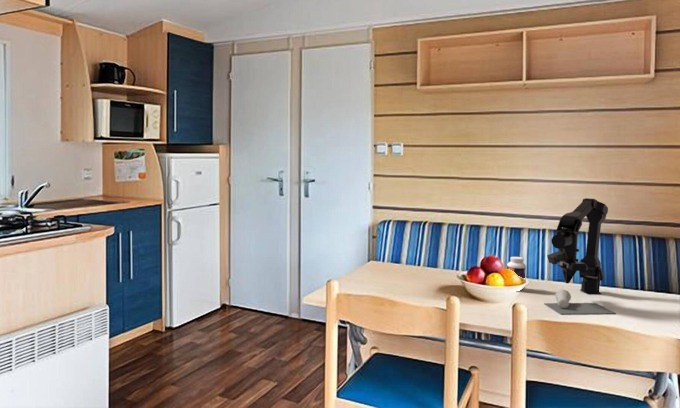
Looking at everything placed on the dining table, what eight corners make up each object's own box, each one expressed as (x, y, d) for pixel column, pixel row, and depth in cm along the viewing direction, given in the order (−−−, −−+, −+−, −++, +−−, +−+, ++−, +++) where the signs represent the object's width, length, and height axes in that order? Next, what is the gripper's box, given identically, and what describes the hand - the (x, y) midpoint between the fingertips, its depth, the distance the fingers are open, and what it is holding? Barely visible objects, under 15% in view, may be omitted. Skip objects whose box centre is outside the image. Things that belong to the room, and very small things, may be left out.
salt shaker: (557, 286, 226) (557, 294, 215) (572, 290, 225) (573, 299, 213) (554, 299, 228) (553, 308, 216) (568, 303, 226) (568, 313, 214)
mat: (595, 303, 224) (595, 302, 224) (615, 314, 210) (615, 313, 210) (544, 304, 222) (544, 303, 222) (560, 314, 208) (560, 313, 208)
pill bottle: (504, 290, 244) (505, 258, 243) (507, 286, 251) (509, 255, 250) (523, 292, 241) (524, 260, 239) (526, 288, 248) (527, 257, 246)
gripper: (540, 242, 233) (538, 278, 234) (562, 250, 214) (559, 289, 216) (565, 241, 234) (563, 277, 235) (589, 250, 215) (586, 288, 217)
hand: (567, 283), depth 226 cm, fingers closed
